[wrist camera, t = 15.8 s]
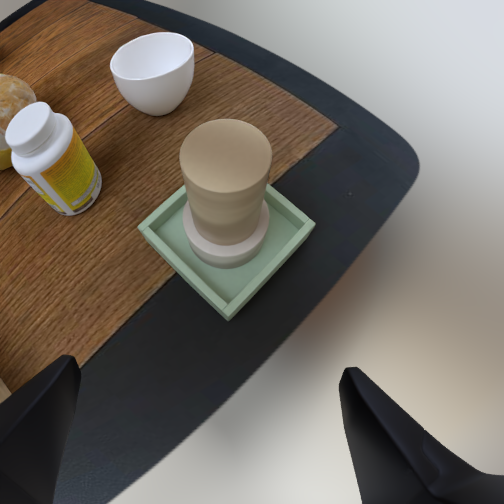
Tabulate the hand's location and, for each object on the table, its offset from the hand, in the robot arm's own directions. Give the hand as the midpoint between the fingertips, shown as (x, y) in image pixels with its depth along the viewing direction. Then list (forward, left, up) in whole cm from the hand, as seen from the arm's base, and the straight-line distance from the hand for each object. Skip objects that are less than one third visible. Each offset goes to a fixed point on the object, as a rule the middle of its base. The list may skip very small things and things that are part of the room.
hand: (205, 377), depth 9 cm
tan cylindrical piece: (+9, -4, -12) cm, 16 cm away
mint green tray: (+9, -4, -14) cm, 17 cm away
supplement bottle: (+19, +7, -14) cm, 24 cm away
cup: (+27, -3, -14) cm, 30 cm away
